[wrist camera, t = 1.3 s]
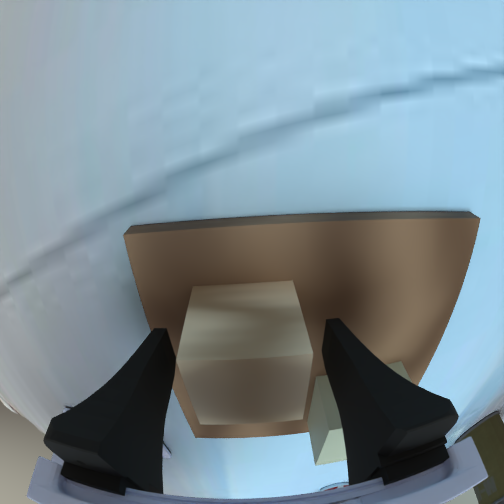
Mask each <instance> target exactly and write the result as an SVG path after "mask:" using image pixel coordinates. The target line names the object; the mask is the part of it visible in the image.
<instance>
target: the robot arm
mask: <svg viewBox="0 0 504 504" xmlns="http://www.w3.org/2000/svg"><path fill="white" fill-rule="evenodd" d="M321 351H322V356H323V361H324V366H325V370H326V373H327V377H328V380H329V383H330V386H331V389H332V392H333V395H334V398H335V401H336V404H337V407H338V411H339V414H340V419H341V425H342V430H343V436H344V442H345V449H346V457H347V466H348V477H349V486H346V487H341V488H337V489H332V490H326V491H321V492H315V493H308V494H301V495H293V496H284V497H272V498H255V499H211V498H195V497H183V496H174V495H166V494H163V478H162V458H171V454H170V452H169V451H168V450H167V448H166V447H165V445H164V444H163V436H164V424H165V418H166V412H167V408H168V403H169V399H170V395H171V390H172V386H173V381H174V376H175V367H176V356H175V353H174V350H173V347H172V344H171V340H170V337H169V334H168V331H167V328H154V329H153V330H152V331H151V333H150V334H149V335H148V336H147V338H146V339H145V340H144V342H143V343H142V344H141V345H140V347H139V348H138V349H137V350H136V352H135V353H134V354H133V355H132V356H131V358H130V359H129V360H128V361H127V362H126V363H125V365H124V366H123V367H122V368H121V369H120V370H119V371H118V372H117V373H116V374H115V375H114V376H113V377H112V378H111V379H110V380H109V381H108V382H107V383H106V384H105V385H104V386H102V387H101V388H100V389H99V390H97V391H96V392H95V393H94V394H92V395H91V396H90V397H88V398H87V399H86V400H84V401H83V402H81V403H80V404H78V405H76V406H75V407H73V408H71V409H69V408H64V410H63V412H64V413H62V414H60V415H58V416H56V417H54V418H52V420H51V422H50V424H49V427H48V429H47V432H46V434H45V437H44V443H45V445H46V446H47V447H48V448H49V449H50V450H51V451H52V452H53V455H52V459H51V461H50V460H48V459H45V458H43V457H41V456H39V457H38V460H37V463H36V466H35V469H34V472H33V475H32V479H31V482H30V485H29V489H28V493H27V497H28V498H29V499H31V500H33V501H35V502H37V503H39V504H444V503H446V502H448V501H450V500H452V499H454V498H456V497H457V496H459V495H461V494H463V493H464V492H466V491H468V490H469V489H471V488H472V487H474V486H476V485H477V484H479V483H480V482H482V481H483V480H485V479H486V478H487V477H488V474H487V472H486V469H485V467H484V464H483V462H482V460H481V457H480V455H479V453H478V450H477V448H476V446H475V444H474V441H473V439H472V437H468V438H466V439H464V440H462V441H460V442H458V443H456V444H454V445H452V446H450V447H449V448H447V449H446V447H445V445H444V444H446V443H447V440H446V437H445V435H446V434H447V433H448V432H449V430H450V429H451V428H452V427H453V426H454V425H455V423H456V422H457V420H458V417H459V416H458V414H457V412H456V410H455V408H454V406H453V404H452V402H451V401H450V400H449V399H447V398H444V397H441V396H439V395H436V394H434V393H431V392H429V391H427V390H425V389H423V388H421V387H419V386H417V385H415V384H414V383H412V382H410V381H409V380H407V379H405V378H404V377H402V376H401V375H399V374H398V373H396V372H395V371H394V370H392V369H391V368H390V367H388V366H387V365H386V364H384V363H383V362H382V361H381V360H380V359H379V358H377V357H376V356H375V355H374V354H373V353H372V352H371V351H370V350H369V349H368V348H367V347H366V346H365V345H364V344H363V343H362V342H361V341H360V340H359V339H358V338H357V337H356V336H355V335H354V334H353V333H352V332H351V331H350V329H349V328H348V327H347V326H346V325H345V324H344V323H343V322H342V321H341V319H339V318H333V319H326V323H325V330H324V337H323V344H322V350H321Z"/></svg>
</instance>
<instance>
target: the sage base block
mask: <svg viewBox="0 0 504 504" xmlns="http://www.w3.org/2000/svg"><path fill="white" fill-rule="evenodd" d="M386 365H387V366H388V367H390V368H391V369H392V370H394V371H395V372H396V373H398V374H399V375H401V376H402V377H404V378H405V379H407V380H409V381H410V382H412V381H411V379H410V377H409V376H408V374H407V372H406V370H405V368H404V366H403V364H402V362H401V361H399V362H395V363H391V364H386ZM307 423H308V428H309V434H310V439H311V445H312V450H313V456H314V461H315V466H316V465H322V464H328V463H333V462H338V461H343V460H347V457H346V449H345V442H344V436H343V430H342V425H341V419H340V414H339V411H338V407H337V404H336V401H335V398H334V395H333V392H332V389H331V386H330V383H329V380H328V377H327V375H324V376H317V377H316V381H315V386H314V391H313V397H312V402H311V407H310V411H309V416H308V421H307Z"/></svg>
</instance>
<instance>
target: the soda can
mask: <svg viewBox="0 0 504 504" xmlns="http://www.w3.org/2000/svg"><path fill="white" fill-rule="evenodd" d="M346 486H349V483H347V482H343V483H337V484H333V485H329V486H326V487H324V488H322V489H321V491H326V490H332V489H337V488H341V487H346ZM321 491H320V492H321Z"/></svg>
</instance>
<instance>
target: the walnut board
mask: <svg viewBox="0 0 504 504" xmlns="http://www.w3.org/2000/svg"><path fill="white" fill-rule="evenodd" d="M479 223H480V218H479V217H477V216H476V215H474V214H473V213H471V212H440V211H408V212H349V213H318V214H294V215H274V216H255V217H239V218H224V219H209V220H196V221H183V222H171V223H160V224H148V225H138V226H131V227H130V228H129V229H128V230H127V231H126V232H125V233H124V235H123V236H124V240H125V244H126V248H127V252H128V256H129V260H130V264H131V268H132V271H133V275H134V278H135V282H136V285H137V289H138V292H139V296H140V299H141V302H142V305H143V309H144V312H145V315H146V318H147V321H148V324H149V327H150V330H151V331H152V330H153V329H154V328H167V331H168V334H169V337H170V340H171V344H172V347H173V350H174V353H175V356H176V359H177V354H178V349H179V345H180V340H181V335H182V331H183V326H184V322H185V318H186V313H187V309H188V305H189V300H190V296H191V292H192V288H193V286H208V285H228V284H245V283H261V282H277V281H291V280H293V283H294V286H295V290H296V293H297V297H298V300H299V304H300V307H301V311H302V314H303V318H304V321H305V325H306V329H307V332H308V336H309V340H310V343H311V347H312V351H313V359H312V366H311V372H310V379H309V385H308V392H307V398H306V404H305V409H304V415H303V419H300V420H292V421H282V422H270V423H256V424H228V425H205V424H200V423H199V420H198V418H197V415H196V413H195V410H194V408H193V405H192V403H191V400H190V398H189V395H188V392H187V390H186V387H185V384H184V381H183V379H182V376H181V373H180V370H179V367H178V364H177V361H176V367H175V376H174V381H173V386H172V387H173V390H174V392H175V395H176V397H177V399H178V401H179V404H180V406H181V408H182V410H183V413H184V415H185V417H186V419H187V421H188V423H189V425H190V427H191V430H192V432H193V434H194V436H195V438H248V437H266V436H278V435H288V434H297V433H305V432H309V428H308V423H307V421H308V416H309V411H310V407H311V402H312V397H313V391H314V386H315V381H316V377H317V376H324V375H327V373H326V370H325V366H324V361H323V356H322V351H321V350H322V344H323V337H324V330H325V323H326V319H333V318H339V319H341V321H342V322H343V323H344V324H345V325H346V326H347V327H348V328H349V329H350V331H351V332H352V333H353V334H354V335H355V336H356V337H357V338H358V339H359V340H360V341H361V342H362V343H363V344H364V345H365V346H366V347H367V348H368V349H369V350H370V351H371V352H372V353H373V354H374V355H375V356H376V357H377V358H379V359H380V360H381V361H382V362H383V363H384V364H391V363H395V362H399V361H401V362H402V364H403V366H404V368H405V370H406V372H407V374H408V376H409V377H410V379H411V381H412V383H414V384H415V385H417V386H418V384H419V382H420V380H421V379H422V377H423V375H424V373H425V371H426V369H427V367H428V365H429V363H430V361H431V359H432V357H433V355H434V353H435V351H436V349H437V347H438V345H439V343H440V340H441V338H442V336H443V334H444V331H445V329H446V327H447V324H448V322H449V320H450V317H451V315H452V312H453V310H454V307H455V304H456V302H457V299H458V296H459V293H460V290H461V288H462V285H463V282H464V279H465V275H466V272H467V269H468V266H469V262H470V259H471V255H472V252H473V248H474V244H475V240H476V236H477V232H478V227H479Z"/></svg>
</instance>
